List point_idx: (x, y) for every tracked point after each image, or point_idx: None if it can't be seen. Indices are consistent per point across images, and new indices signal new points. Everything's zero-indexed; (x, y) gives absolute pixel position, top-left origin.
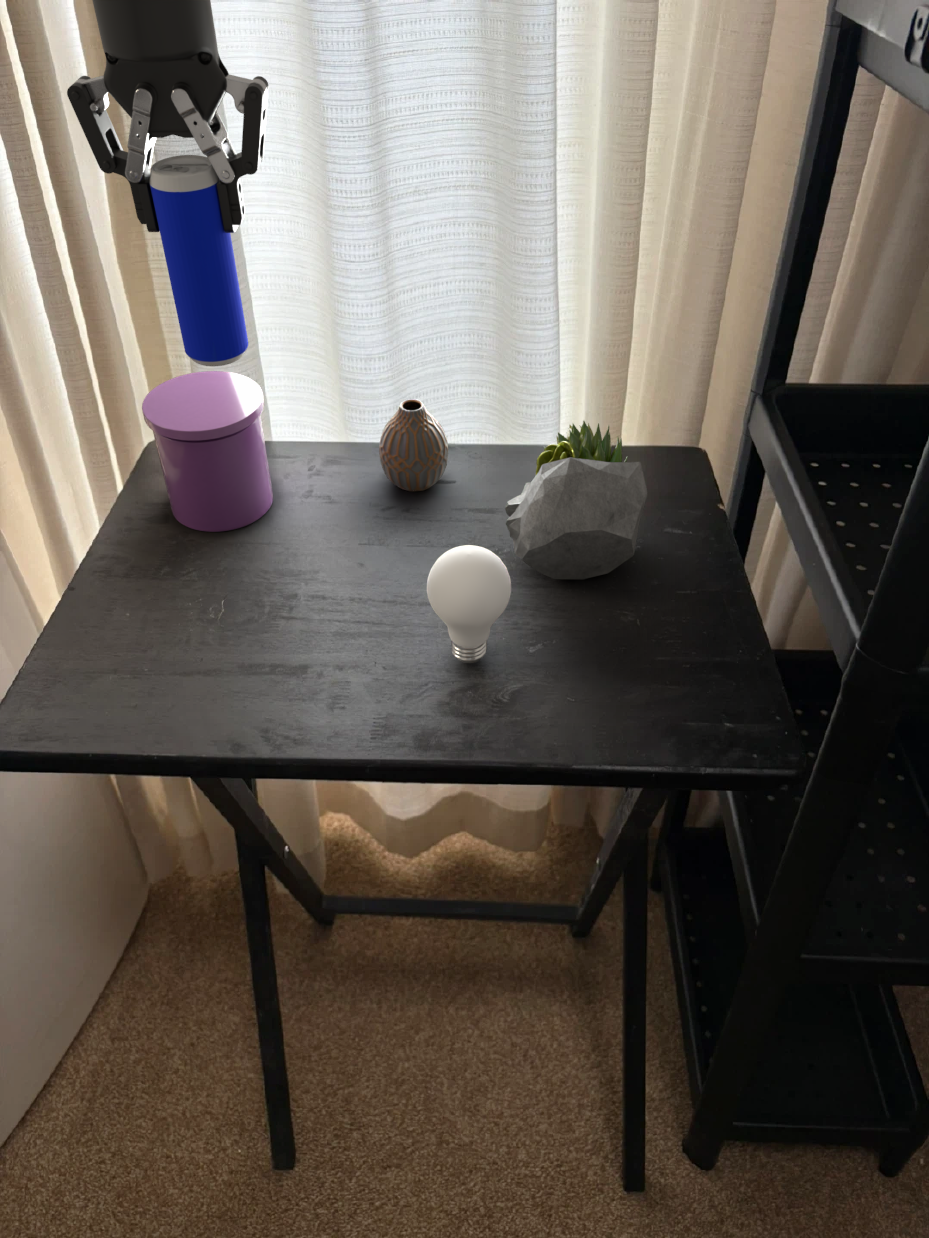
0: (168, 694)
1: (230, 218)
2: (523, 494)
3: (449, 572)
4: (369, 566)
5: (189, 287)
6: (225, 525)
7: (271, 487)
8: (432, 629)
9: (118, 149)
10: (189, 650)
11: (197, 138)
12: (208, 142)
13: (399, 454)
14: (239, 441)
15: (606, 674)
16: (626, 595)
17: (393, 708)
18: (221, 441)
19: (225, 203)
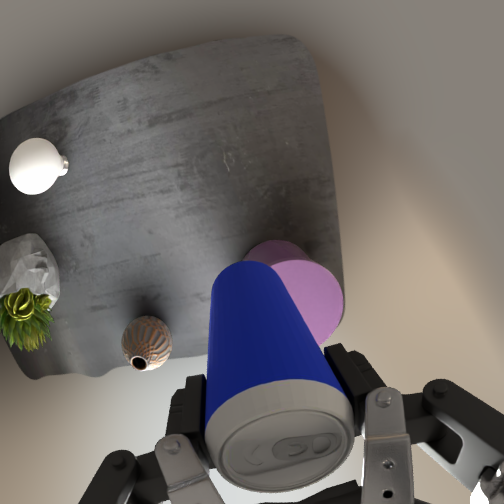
0: (226, 81)
1: (186, 389)
2: (38, 282)
3: (30, 150)
4: (144, 232)
5: (258, 294)
6: (259, 245)
7: None
8: (87, 182)
9: (428, 441)
10: (230, 119)
11: (214, 502)
12: (186, 496)
13: (144, 327)
14: None
15: (4, 179)
16: None
17: (91, 111)
18: None
19: (189, 407)
